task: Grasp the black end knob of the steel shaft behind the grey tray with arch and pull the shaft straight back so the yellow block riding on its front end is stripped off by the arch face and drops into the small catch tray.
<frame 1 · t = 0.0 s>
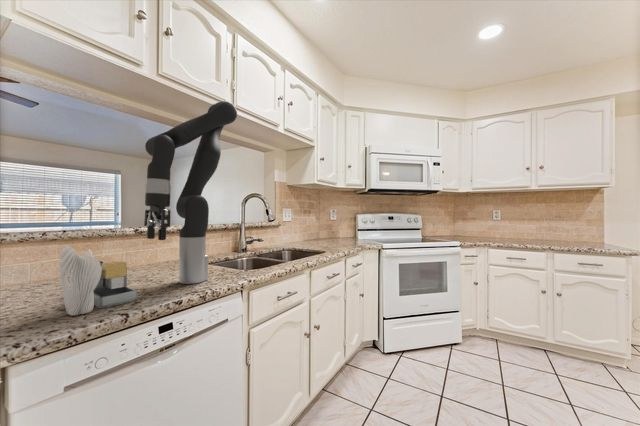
hand: (156, 239, 96), 17 cm above the worktop, tool pointing down, fingers open, 8 cm apart
shell sculpture: (78, 313, 73), on the worktop
grey tray with arch: (107, 298, 85), on the worktop
yellow block: (114, 276, 82), point 7 cm above the worktop, touching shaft
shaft: (105, 277, 87), point 6 cm above the worktop, slide at 0.0 cm, touching yellow block
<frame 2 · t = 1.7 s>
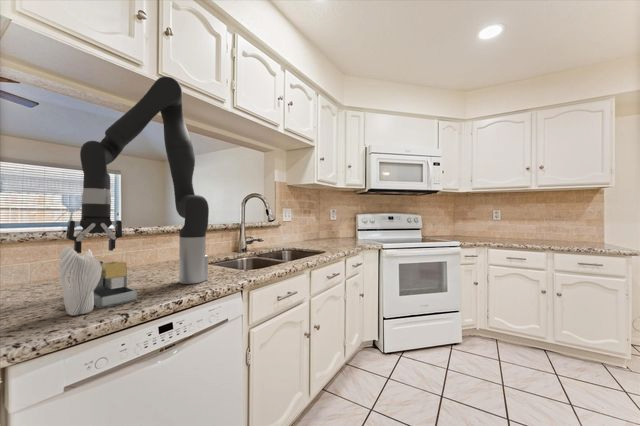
hand: (95, 251, 92), 13 cm above the worktop, tool pointing down, fingers open, 8 cm apart
nothing on the worktop moved.
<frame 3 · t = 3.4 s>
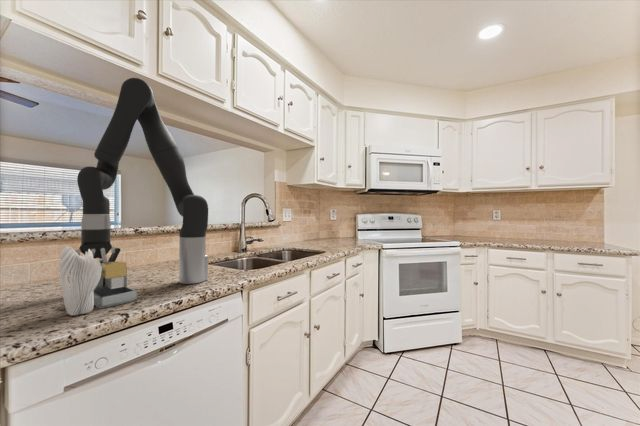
hand: (95, 279, 92), 4 cm above the worktop, tool pointing down, fingers closed on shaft, 3 cm apart
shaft: (105, 277, 87), point 6 cm above the worktop, slide at 0.0 cm, touching gripper, yellow block
everything else where it was.
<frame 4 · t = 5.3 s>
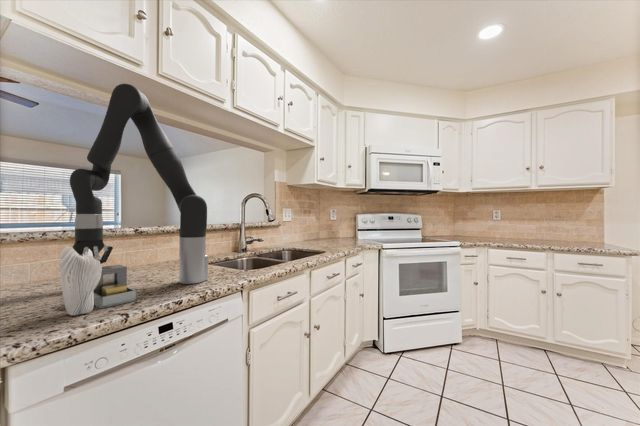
hand: (89, 276, 97), 4 cm above the worktop, tool pointing down, fingers closed on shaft, 3 cm apart
yellow block: (111, 291, 83), point 3 cm above the worktop, tilted 90°, touching grey tray with arch
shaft: (97, 274, 91), point 6 cm above the worktop, slide at 7.5 cm, touching gripper
everything else where it was.
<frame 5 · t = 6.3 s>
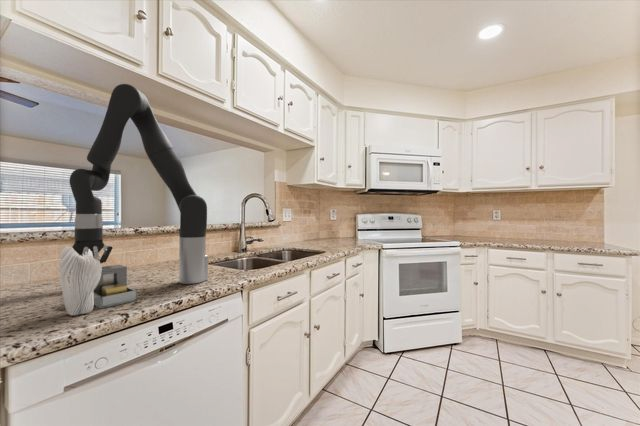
hand: (88, 276, 97), 4 cm above the worktop, tool pointing down, fingers closed on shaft, 3 cm apart
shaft: (97, 274, 91), point 6 cm above the worktop, slide at 7.8 cm, touching gripper
everything else where it was.
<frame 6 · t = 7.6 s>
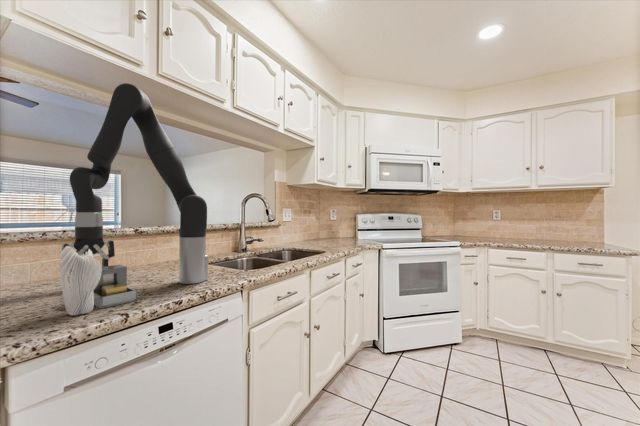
hand: (89, 271, 97), 6 cm above the worktop, tool pointing down, fingers open, 8 cm apart
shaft: (97, 274, 91), point 6 cm above the worktop, slide at 7.8 cm
everything else where it was.
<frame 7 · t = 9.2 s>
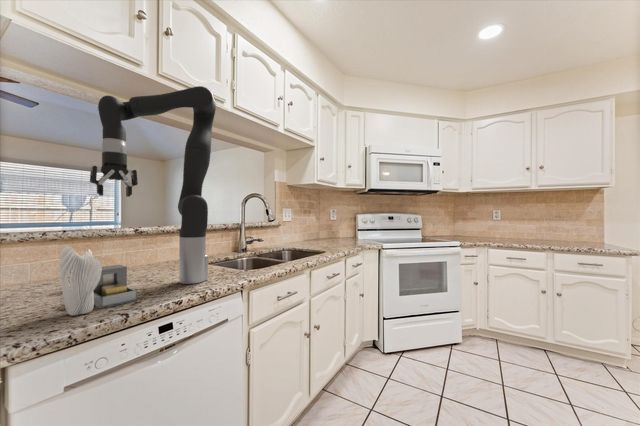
hand: (115, 196, 104), 33 cm above the worktop, tool pointing down, fingers open, 8 cm apart
nothing on the worktop moved.
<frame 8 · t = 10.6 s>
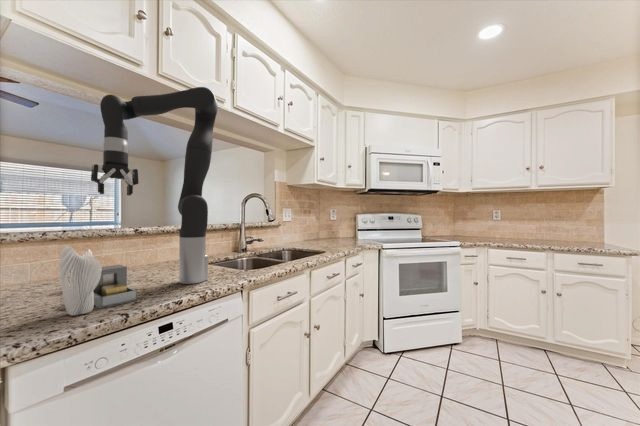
hand: (115, 194, 104), 33 cm above the worktop, tool pointing down, fingers open, 8 cm apart
nothing on the worktop moved.
at the end: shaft slide at 7.8 cm; yellow block inside the target area on the grey tray with arch (1.9 cm from its centre), point 2.6 cm above the grey tray with arch's base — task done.
